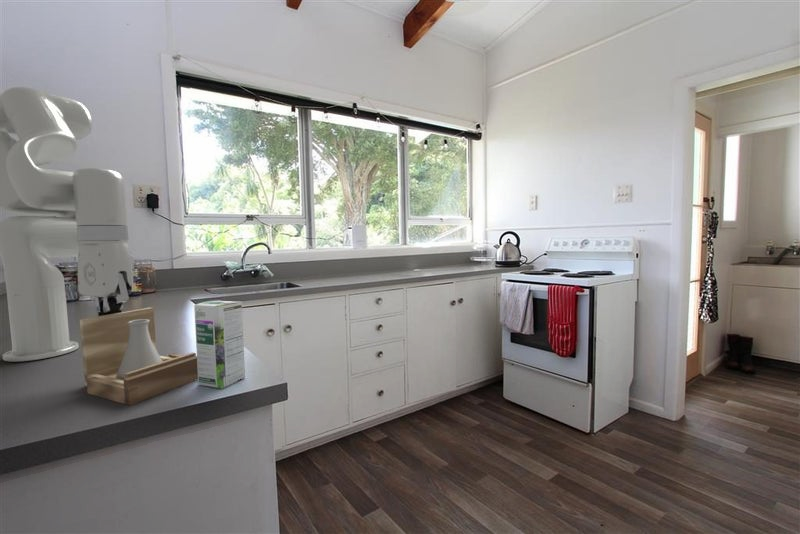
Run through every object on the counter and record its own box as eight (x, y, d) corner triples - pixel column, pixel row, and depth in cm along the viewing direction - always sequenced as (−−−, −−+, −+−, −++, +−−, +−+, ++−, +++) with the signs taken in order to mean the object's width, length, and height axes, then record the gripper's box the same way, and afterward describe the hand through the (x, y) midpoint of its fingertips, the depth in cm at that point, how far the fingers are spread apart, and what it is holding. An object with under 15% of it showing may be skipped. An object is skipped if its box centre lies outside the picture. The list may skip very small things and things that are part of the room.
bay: (87, 393, 62) (85, 370, 62) (174, 364, 76) (173, 345, 76) (130, 405, 57) (128, 380, 57) (215, 372, 71) (214, 352, 71)
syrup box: (196, 385, 65) (191, 304, 64) (223, 374, 70) (219, 298, 69) (221, 389, 63) (217, 305, 62) (247, 377, 68) (243, 300, 67)
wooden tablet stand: (85, 385, 65) (79, 319, 64) (154, 363, 76) (150, 307, 75) (129, 396, 60) (124, 325, 59) (196, 372, 71) (193, 311, 70)
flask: (174, 368, 71) (171, 317, 70) (141, 382, 64) (137, 326, 63) (142, 366, 72) (138, 316, 72) (106, 380, 65) (102, 324, 64)
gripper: (58, 237, 70) (67, 332, 71) (103, 235, 63) (112, 339, 65) (103, 237, 76) (111, 324, 78) (148, 235, 70) (155, 329, 71)
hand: (111, 331), depth 71 cm, fingers closed
